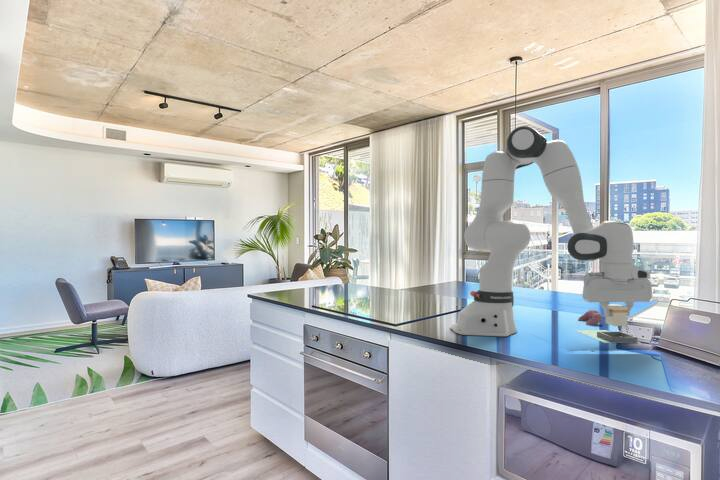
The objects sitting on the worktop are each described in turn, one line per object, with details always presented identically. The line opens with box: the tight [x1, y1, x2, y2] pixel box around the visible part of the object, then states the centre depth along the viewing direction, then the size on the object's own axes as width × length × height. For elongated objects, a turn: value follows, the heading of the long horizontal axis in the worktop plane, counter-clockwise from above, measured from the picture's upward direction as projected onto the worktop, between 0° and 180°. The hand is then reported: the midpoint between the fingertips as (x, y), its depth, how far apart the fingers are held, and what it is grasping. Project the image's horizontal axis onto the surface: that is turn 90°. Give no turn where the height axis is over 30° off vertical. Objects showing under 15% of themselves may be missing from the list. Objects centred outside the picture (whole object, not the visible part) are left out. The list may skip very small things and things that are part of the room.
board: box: [574, 329, 641, 344], centre depth 132 cm, size 11×17×2 cm, turn 1°
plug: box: [605, 303, 629, 327], centre depth 129 cm, size 4×4×6 cm
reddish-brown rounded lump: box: [577, 309, 603, 326], centre depth 154 cm, size 10×5×7 cm, turn 170°
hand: (616, 316), depth 128 cm, fingers closed on plug, 4 cm apart
